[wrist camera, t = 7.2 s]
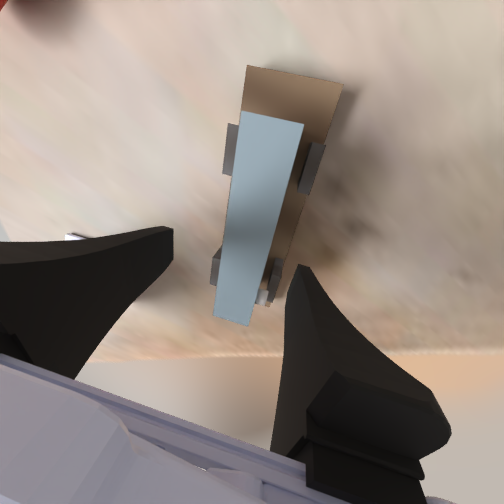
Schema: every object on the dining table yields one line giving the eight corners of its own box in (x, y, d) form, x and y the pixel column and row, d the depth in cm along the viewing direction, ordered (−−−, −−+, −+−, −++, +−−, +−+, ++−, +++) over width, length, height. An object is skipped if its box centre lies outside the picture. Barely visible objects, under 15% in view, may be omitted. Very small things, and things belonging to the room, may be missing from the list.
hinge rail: (270, 298, 24) (265, 328, 20) (220, 283, 25) (205, 309, 21) (339, 89, 14) (354, 68, 10) (251, 72, 15) (234, 45, 11)
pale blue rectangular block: (267, 284, 21) (257, 329, 16) (233, 274, 22) (212, 315, 16) (313, 133, 14) (321, 128, 9) (262, 122, 15) (241, 110, 9)
